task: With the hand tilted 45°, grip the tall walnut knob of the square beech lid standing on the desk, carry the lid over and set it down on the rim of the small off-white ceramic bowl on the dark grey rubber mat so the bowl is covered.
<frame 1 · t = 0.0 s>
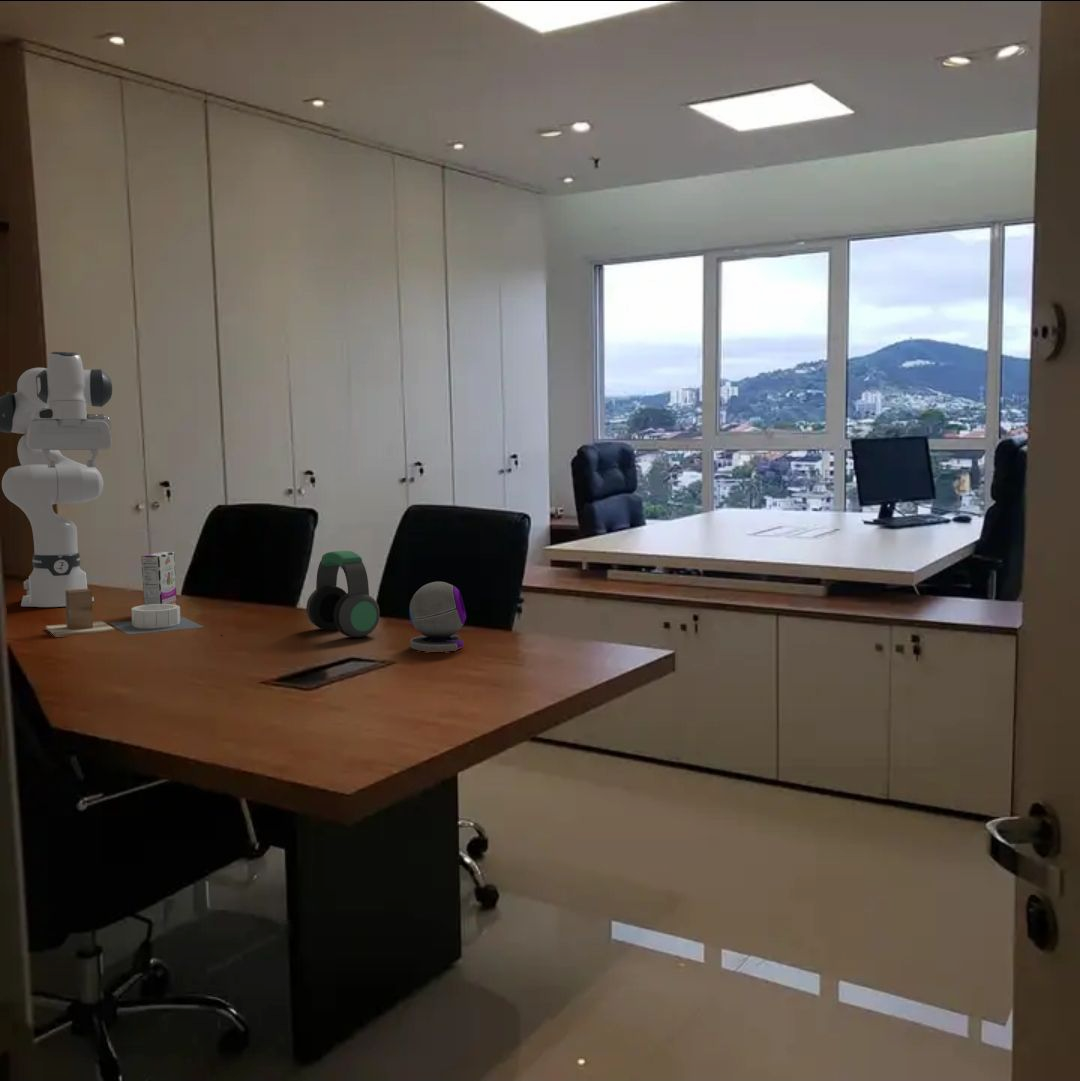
hand: (71, 467, 276), 39 cm above the table, tool pointing down, fingers open, 8 cm apart
candy bar box: (160, 616, 280), on the table, touching mat
bowl: (156, 624, 265), resting on mat
mat: (156, 626, 265), on the table
lid: (79, 632, 259), on the table
headphones: (342, 634, 259), on the table
webcam: (437, 648, 243), on the table
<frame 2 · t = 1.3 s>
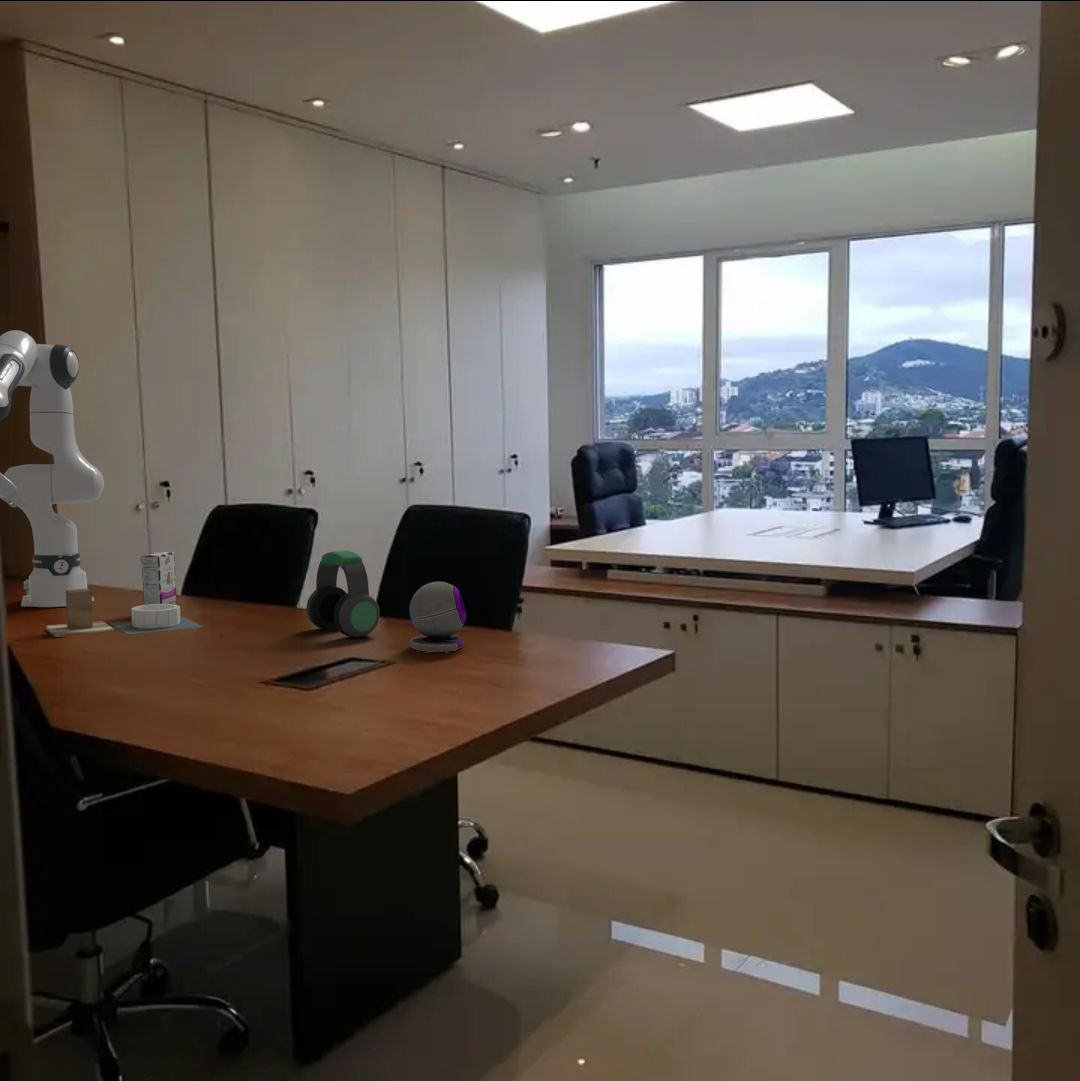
hand: (20, 506, 254), 30 cm above the table, tool tilted 45°, fingers open, 8 cm apart
nothing on the table moved.
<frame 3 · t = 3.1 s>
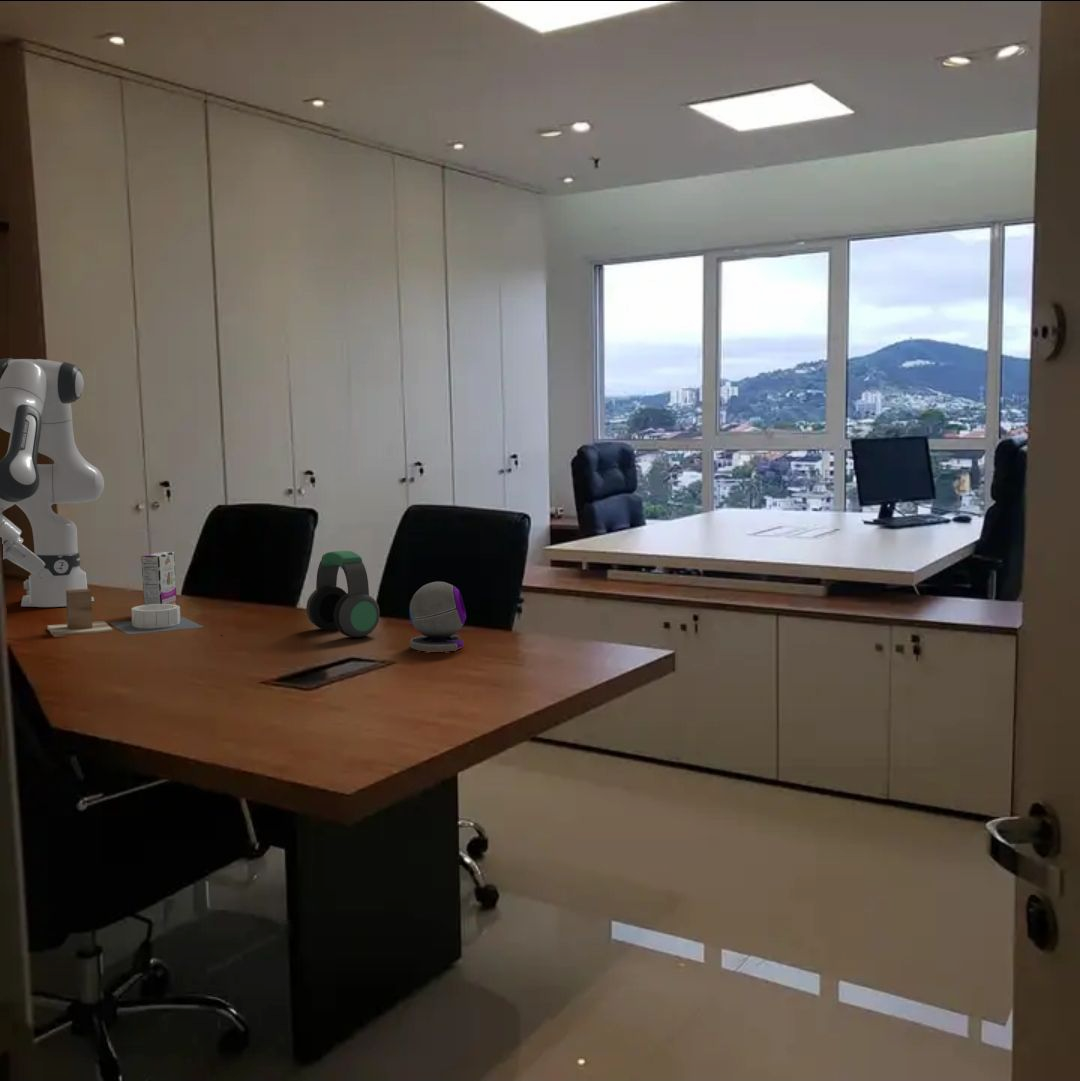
hand: (48, 578, 254), 13 cm above the table, tool tilted 45°, fingers open, 8 cm apart
nothing on the table moved.
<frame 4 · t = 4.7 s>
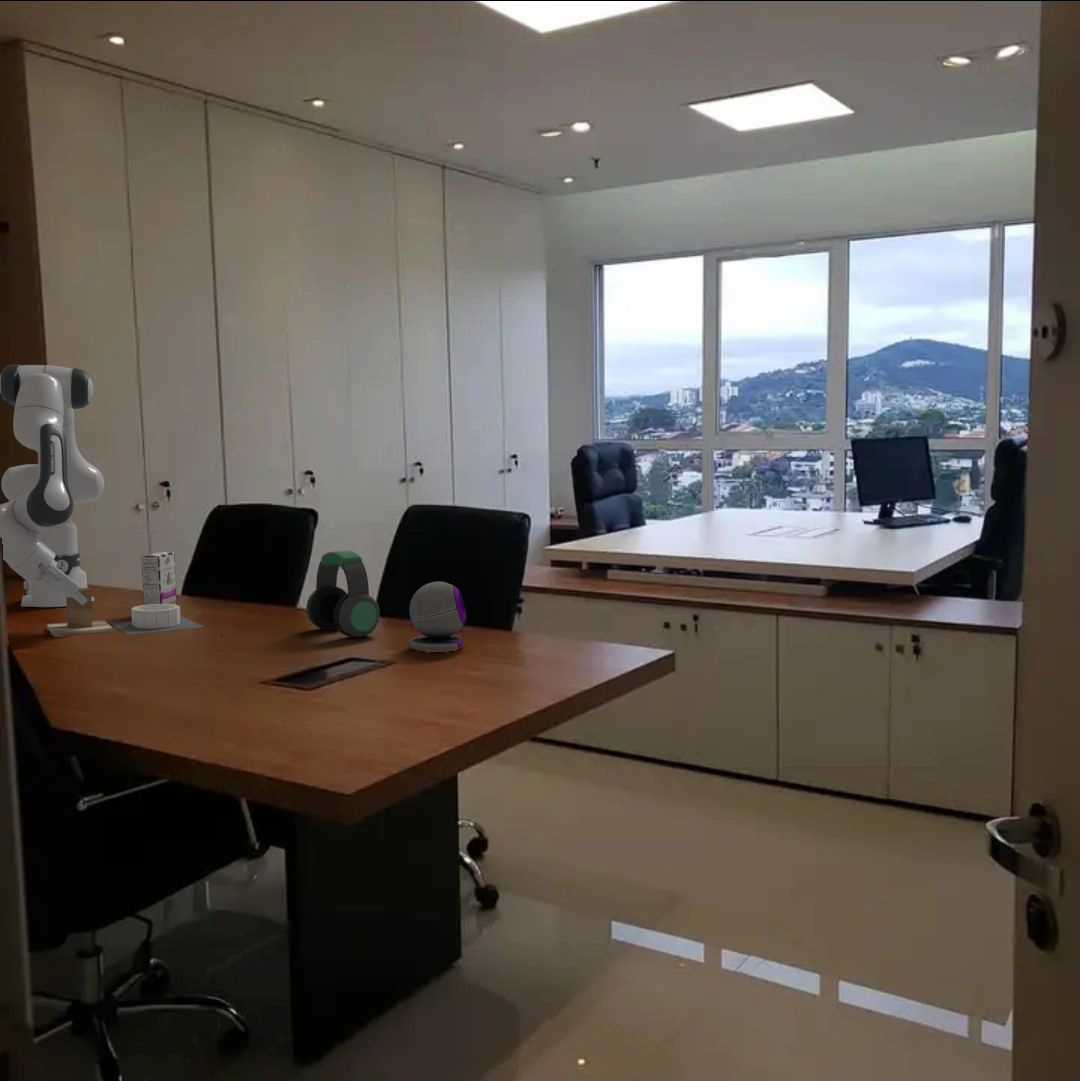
hand: (81, 600, 259), 7 cm above the table, tool tilted 45°, fingers closed on lid, 5 cm apart
lid: (79, 631, 259), on the table, touching gripper
everything else where it was.
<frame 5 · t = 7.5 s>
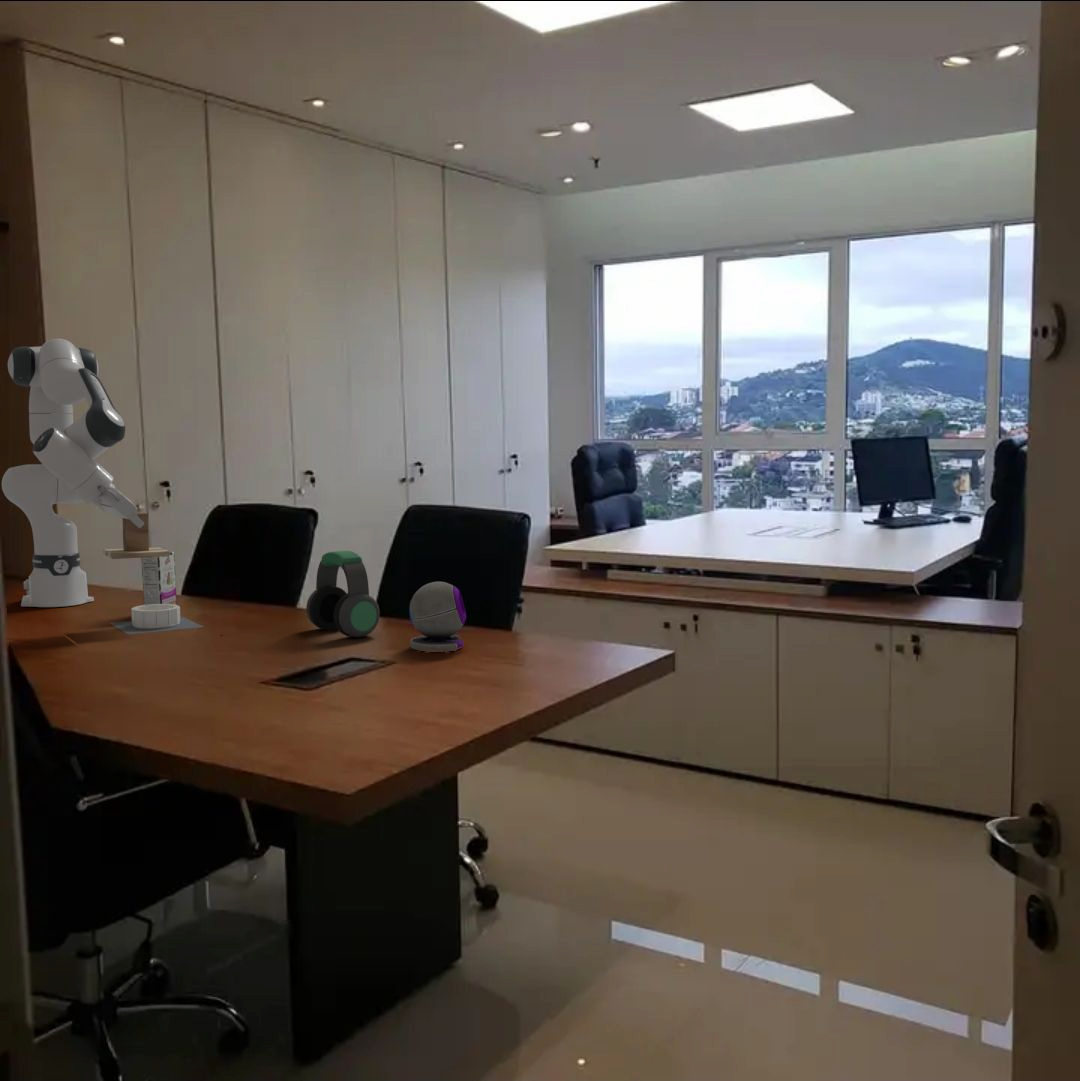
hand: (138, 524, 261), 25 cm above the table, tool tilted 45°, fingers closed on lid, 5 cm apart
lid: (136, 555, 262), point 18 cm above the table, touching gripper
everything else where it was.
when the fingers open (13 cm above the table, at t = 10.6 s): lid drops 1 cm, resting on bowl.
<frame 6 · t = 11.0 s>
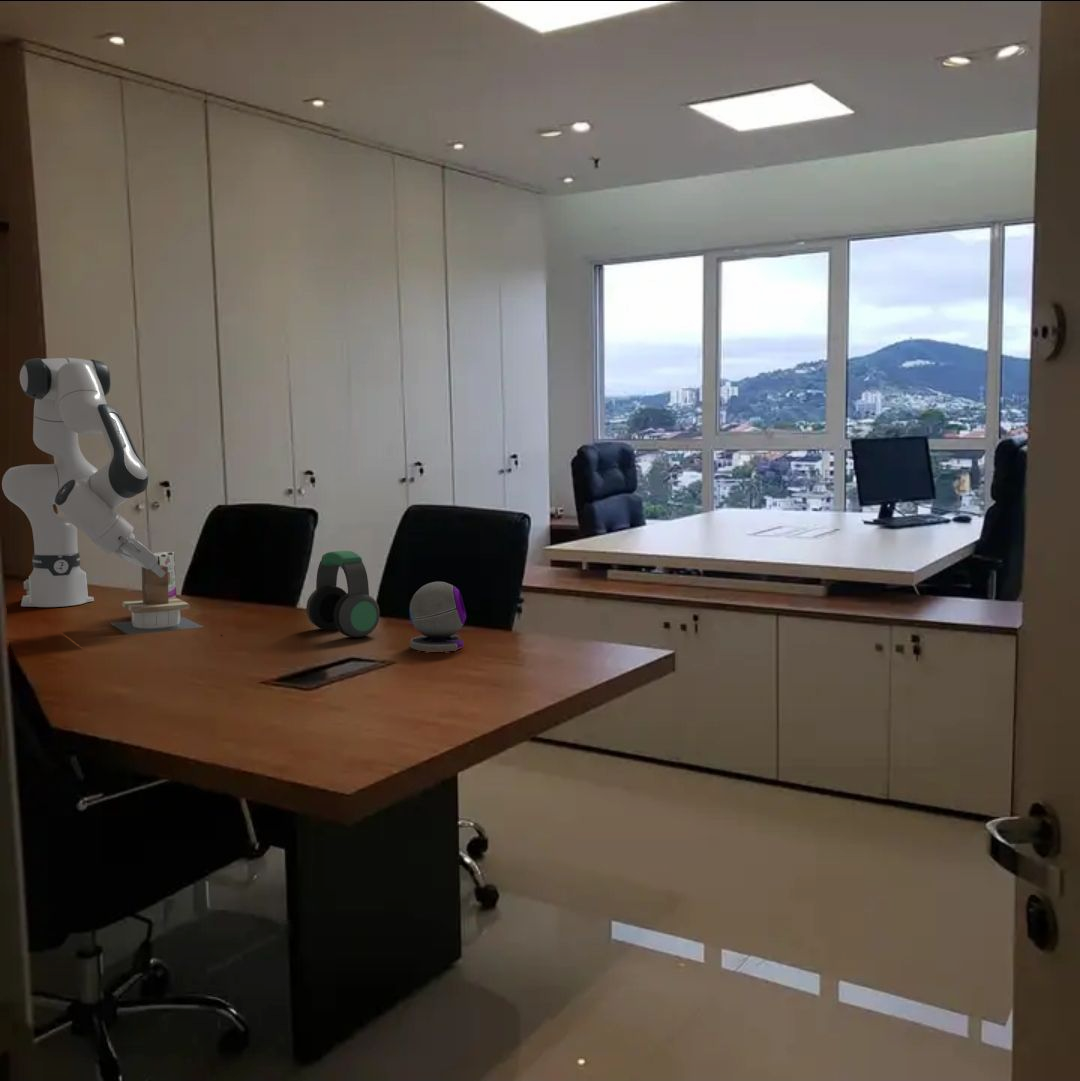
hand: (157, 573, 264), 13 cm above the table, tool tilted 45°, fingers open, 8 cm apart
lid: (155, 607, 265), point 5 cm above the table, touching bowl
everything else where it was.
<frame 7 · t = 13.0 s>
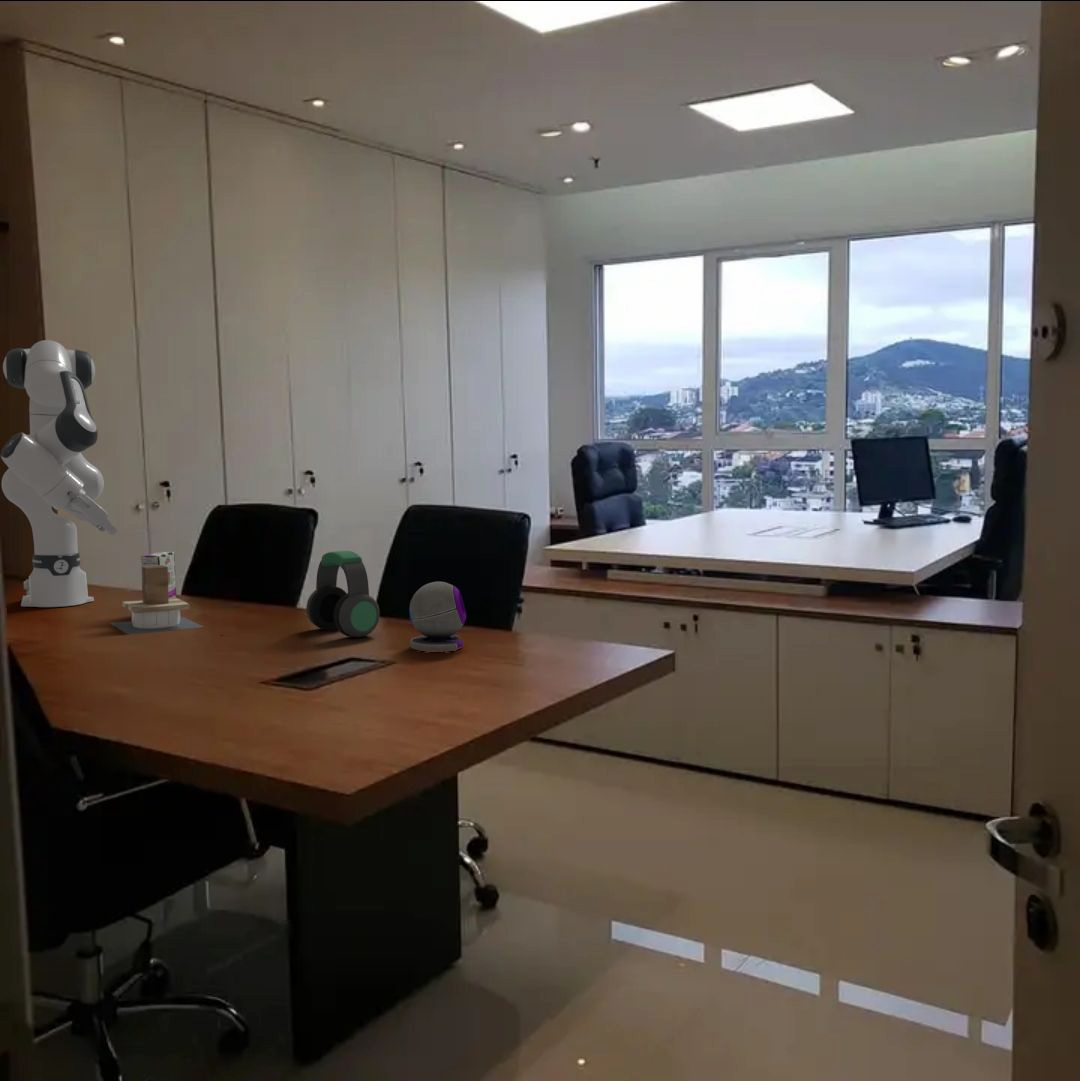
hand: (109, 531, 257), 24 cm above the table, tool tilted 45°, fingers open, 8 cm apart
nothing on the table moved.
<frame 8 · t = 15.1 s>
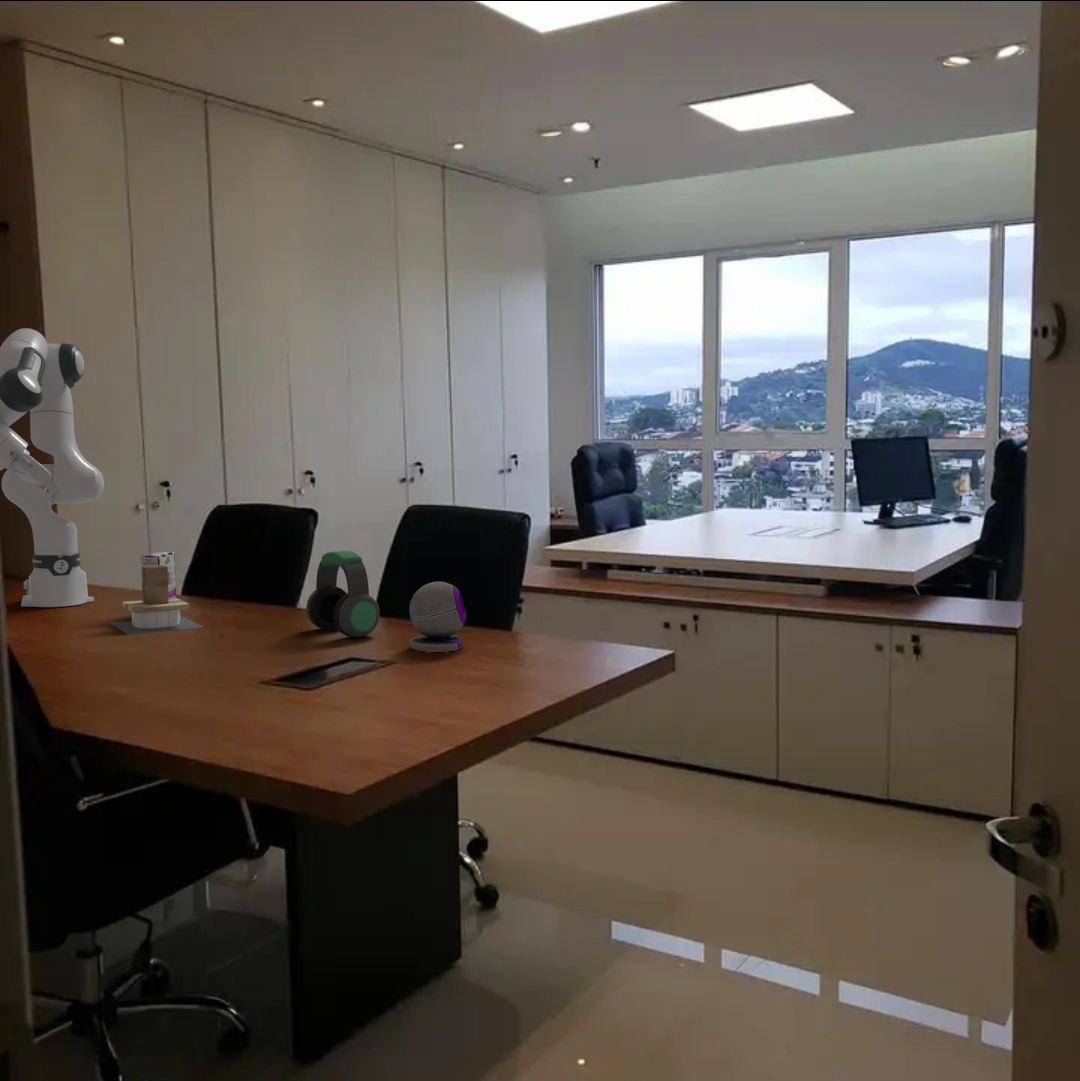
hand: (54, 492, 259), 33 cm above the table, tool tilted 45°, fingers open, 8 cm apart
nothing on the table moved.
at the end: lid 0.0 cm from the bowl (horizontally); lid point 4.8 cm above the table; the gripper is holding nothing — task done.
